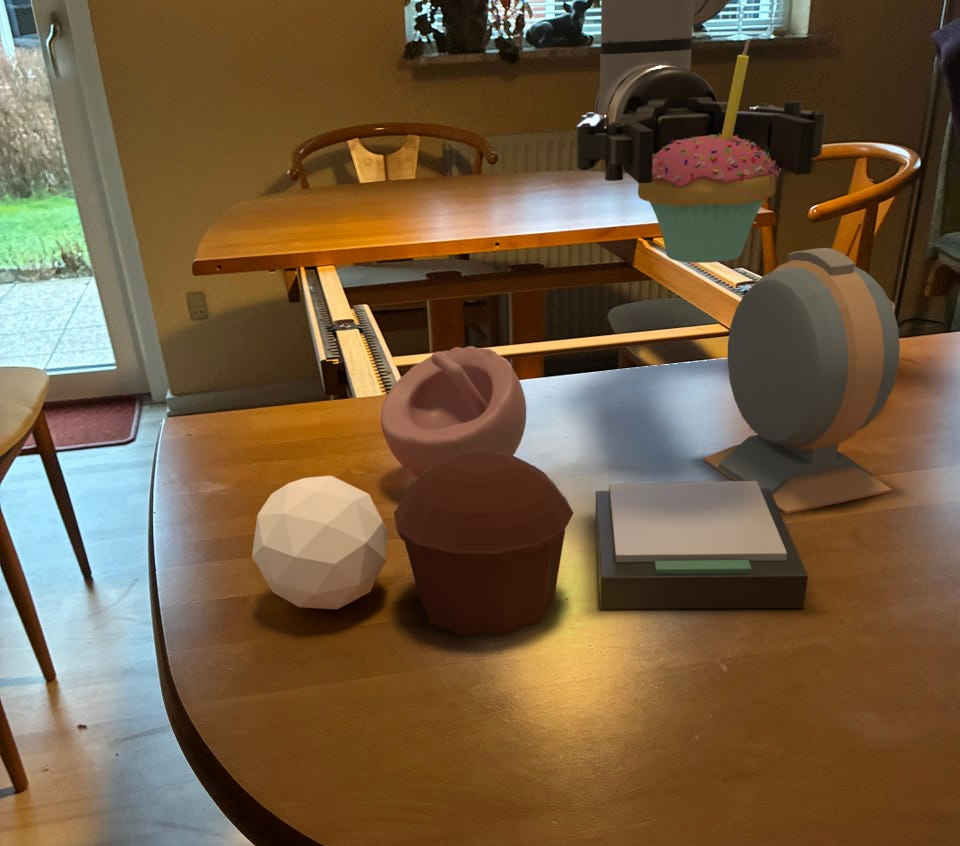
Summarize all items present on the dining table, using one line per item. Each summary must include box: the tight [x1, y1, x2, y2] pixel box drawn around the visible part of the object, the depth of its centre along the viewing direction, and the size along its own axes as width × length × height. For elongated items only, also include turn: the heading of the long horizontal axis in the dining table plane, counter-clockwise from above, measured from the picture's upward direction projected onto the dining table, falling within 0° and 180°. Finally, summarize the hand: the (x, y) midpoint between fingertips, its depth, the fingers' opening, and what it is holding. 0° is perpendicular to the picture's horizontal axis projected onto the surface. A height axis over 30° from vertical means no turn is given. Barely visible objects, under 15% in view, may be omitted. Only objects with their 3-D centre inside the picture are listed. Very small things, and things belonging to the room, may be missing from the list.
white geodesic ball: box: [251, 475, 388, 610], centre depth 66 cm, size 9×9×12 cm
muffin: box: [393, 450, 575, 637], centre depth 63 cm, size 12×11×10 cm
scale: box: [594, 480, 809, 610], centre depth 69 cm, size 13×14×3 cm
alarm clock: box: [702, 247, 901, 515], centre depth 77 cm, size 14×10×18 cm
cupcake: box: [637, 39, 782, 264], centre depth 61 cm, size 9×8×12 cm
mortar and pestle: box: [380, 345, 527, 478], centre depth 81 cm, size 12×12×12 cm
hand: (726, 152), depth 57 cm, fingers closed on cupcake, 8 cm apart
